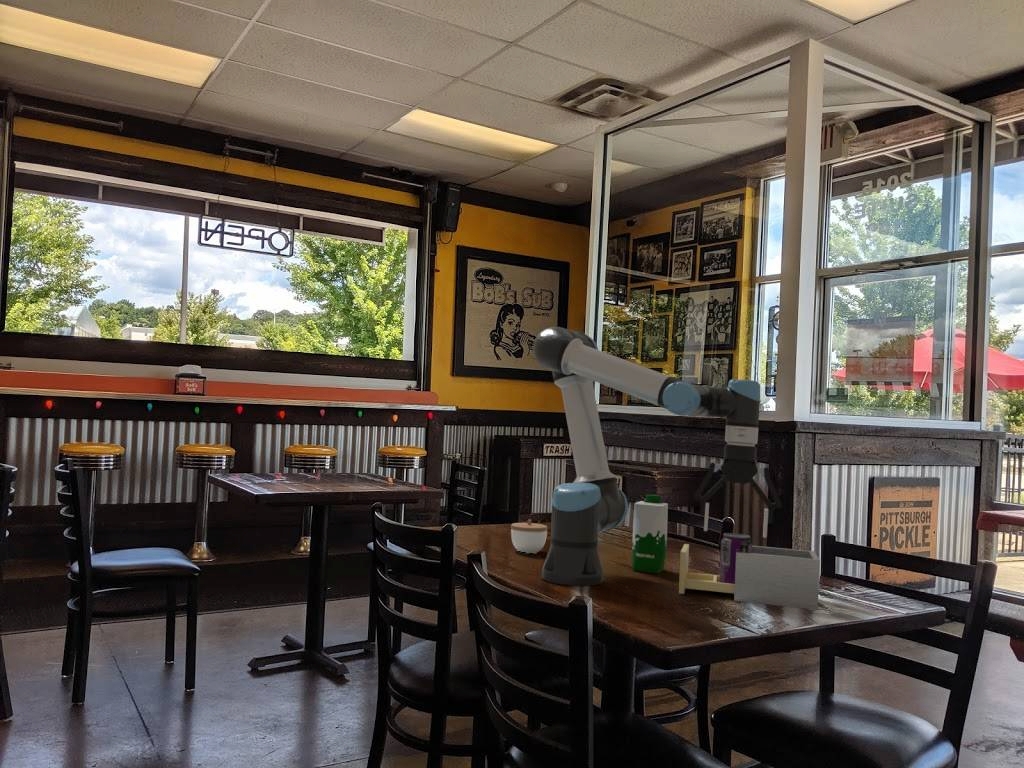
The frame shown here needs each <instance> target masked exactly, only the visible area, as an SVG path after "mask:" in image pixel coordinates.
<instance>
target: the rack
mask: <svg viewBox="0 0 1024 768" xmlns="http://www.w3.org/2000/svg"><path fill="white" fill-rule="evenodd" d="M689 552H690V544H688V543H684V544H683V546H682V548H681V550H680V559H679V560H680V561H679V581H678V582H679V583H678V594H679V595H680V594H681V595H685V592H686V589H689V590H698V591H699V590H700V591H707V592H709V591H710V592H717V593H725V594H727V593H728V594H734V593H735V584H729V583H721V582H720V581H719V579H720V574H710V573H699V572H691V571H690V572H689V556H690V553H689Z"/></svg>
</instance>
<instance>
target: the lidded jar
mask: <svg viewBox="0 0 1024 768" xmlns="http://www.w3.org/2000/svg"><path fill="white" fill-rule="evenodd" d="M510 528H511V529H510V535H511V542H512V544H513V547H514V548H515V550H517V552H518V551H521V552H526V553H525V554H529V553H533V554H538V553H539V551H541V550H542V549H543V548H544V546H545V543H546V542H547V541H546V540H547V536H548V525H545V524H541V523H534V522H532V519H528V520H527V522H513V523H512V524H510ZM521 552H520V553H521ZM537 552H538V553H537Z"/></svg>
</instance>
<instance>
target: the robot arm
mask: <svg viewBox="0 0 1024 768" xmlns="http://www.w3.org/2000/svg"><path fill="white" fill-rule="evenodd" d="M594 340H595V339H593V338H592V337H591V336H589V335H587V334H586V333H585V332H582V331H578V330H572V329H568V328H566V327H565V328H564V327H561V326H550V327H548V328H547V327H546V328H545V329H543V330H542V331H541V332H539V333H538V335H537V336H536V337H535V340H534V342H533V347H532V352H533V356H534V359H535V360H536V362H537V363H538V365H539V366H541V367H542V368H544V369H545V370H548V371H551V372H552V378H553V383H554V385H556V387H558V388H559V389H561V394H562V395H561V396H562V401H563V402H562V403H563V406H564V413H565V417H566V424H567V428H568V434H569V439H570V446H571V450H572V451H571V452H572V456H573V461H574V467H575V472H576V477H575V479H574V480H573V482H568V483H567V482H566V483H561V484H559V485H557V486H556V487H554V489H553V495H552V499H551V505H552V506H551V508H552V509H551V525H550V526H551V528H550V529H551V530H550V544H549V546H550V547H549V550H548V552H547V555H546V557H545V560H544V562H543V566H542V568H541V579H543V580H544V581H546V582H550V583H553V584H559V585H565V586H575V587H576V586H578V587H579V586H580V587H584V586H597V585H601V584H602V583H604V570H603V566H602V562H601V561H602V560H601V559H600V555H599V550H598V547H599V546H598V545H599V543H598V542H599V533H603V532H604V533H605V532H609V531H611V530H613V529H615V528H617V527H619V526H620V525H621V524H622V523H623V522H624V521H625V519H626V517H627V515H628V509H629V504H628V498H627V496H626V494H625V493H624V492H623V491H622V490H621V489H620V488H619V484H618V481H617V476H616V475H615V474H614V473H612V472H611V471H610V468H609V465H608V458H607V454H606V453H607V451H606V448H605V442H604V436H603V433H602V427H601V426H602V425H601V420H600V415H599V410H598V405H597V400H596V394H595V389H594V384H593V383H594V382H595V383H598V384H601V385H603V386H606V387H609V388H611V389H613V390H616V391H619V392H622V393H624V394H627V395H629V396H632V397H635V398H638V399H640V400H642V401H645V402H648V403H651V404H653V405H655V406H657V407H661V408H662V409H664V410H667V411H668V412H670V413H671V414H673V415H676V416H681V417H684V416H686V417H692V418H695V417H700V418H701V417H702V418H720V419H725V433H724V441H725V442H726V444H725V445H724V449H723V461H722V464H721V463H716V462H714V461H712V462H710V463H709V465H708V466H709V467H708V471H707V473H706V475H705V476H704V478H703V480H702V481H701V483H700V485H699V486H698V488H697V489H696V491H695V493H694V495H693V499H694V500H696V501H698V502H699V503H700V508H699V515H700V517H704V520H703V521H704V523H703V532H708V526H709V525H708V524H709V514H710V513H709V510H710V502H707V501H709V500H710V498H712V497H713V495H715V494H716V493H717V492H718V491H719V490H720V489H721V488H722V487H723V485H725V484H726V483H727V482H729V483H731V484H740V485H746V484H749V485H750V486H751V487H752V489H754V491H755V492H756V494H757V495H758V496H759V497H760V499H761V500H762V502H763V503H764V504H765V506H766V507H767V508H764V514H763V529H762V530H763V531H762V538H767V536H768V526H769V525H768V524H773V522H774V511H775V510H777V509H780V508H782V507H783V503H782V502H781V500H780V497H779V495H778V492H777V489H776V488H775V485H774V483H773V482H772V478H771V475H770V468H769V467H768V466H764V467H758V466H757V455H758V453H757V452H758V448H757V447H756V446H755V445H757V444H758V438H759V437H758V436H759V421H760V410H761V409H760V408H761V402H762V400H761V383H759V382H758V381H757V380H752V379H734V378H733V379H730V380H729V381H728V385H727V386H725V387H723V386H722V387H721V386H720V387H719V386H718V387H717V386H707V385H699V384H694V383H691V382H687V381H684V380H681V379H679V378H676V377H672V376H670V375H667V374H665V373H663V372H659V371H656V370H653V369H652V368H649V367H645V366H643V365H640V364H637V363H635V362H632V361H629V360H626V359H623V358H620V357H618V356H615V355H613V354H609V353H607V352H604V351H601V350H599V347H598V344H597V343H596V341H594ZM719 470H721V472H722V473H723V477H722V478H720V479H719V481H718V482H717V483H715V485H713V487H711V489H709V490H708V491H707V492H706V493H705V494H704V495H703V496H702V495H701V494H702V493H703V491H704V489H705V488H706V487H707V485H708V483H709V481H710V480H711V478H712V476H713V475H714V473H717V472H718V471H719ZM757 473H759V474H760V476H761V477H764V480H765V482H766V483H765V484H767V487H768V489H769V492H770V494H771V496H772V499H773V501H774V502H771V500H770V499H769V497H768V496H767V495H766V494H765V493H764V491H763V490H762V489H761V487H760V486H759V485H758V483H757V482H756V480H755V479H754V477H755V476H756V475H757Z"/></svg>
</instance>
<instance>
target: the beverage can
mask: <svg viewBox="0 0 1024 768" xmlns="http://www.w3.org/2000/svg"><path fill="white" fill-rule="evenodd" d="M752 546H753V543H752V541H751V536H750V535H748V534H745V533H744V534H743V533H734V532H730V533H729V532H725V533H723V537H722V539H721V541H720V560H719V562H720V563H719V576H720V579H719V581H720V582H721V583H729V584H735V570H736V552H745V553H752Z"/></svg>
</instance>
